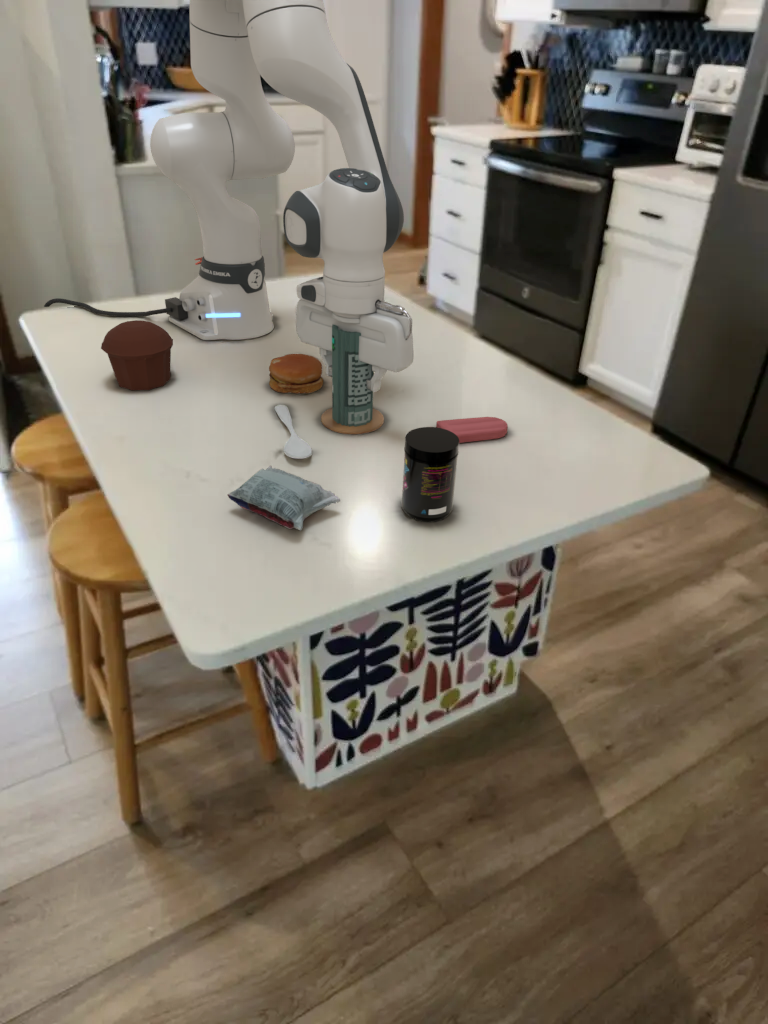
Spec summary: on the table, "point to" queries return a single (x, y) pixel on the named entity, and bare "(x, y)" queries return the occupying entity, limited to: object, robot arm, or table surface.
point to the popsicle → (475, 428)
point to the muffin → (139, 354)
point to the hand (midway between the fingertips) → (352, 382)
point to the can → (349, 380)
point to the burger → (295, 374)
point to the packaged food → (282, 497)
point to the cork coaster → (369, 427)
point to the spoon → (293, 437)
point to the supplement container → (429, 473)
